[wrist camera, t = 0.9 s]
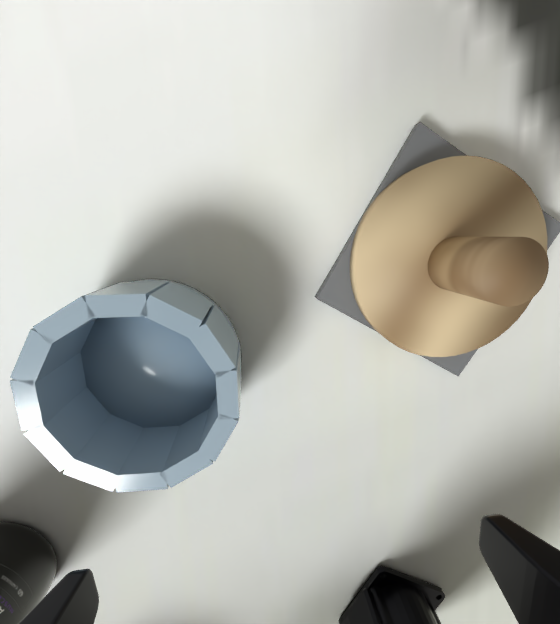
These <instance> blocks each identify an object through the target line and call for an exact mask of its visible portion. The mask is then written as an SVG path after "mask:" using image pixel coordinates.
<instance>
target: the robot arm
mask: <svg viewBox="0 0 560 624" xmlns="http://www.w3.org/2000/svg"><path fill="white" fill-rule="evenodd" d="M479 546H480V550H481V553H482V555H483V557H484V559H485V561H486V563H487V565H488V567H489V568H490V570H491V572H492V574H493V576H494V578H495V580H496V582H497V583H498V585H499V587H500V589H501V591H502V593H503V595H504V597H505V599H506V600H507V602H508V604H509V606H510V608H511V610H512V612H513V614H514V615H515V617H516V619H517V621H518V623H519V624H560V551H559V550H558V549H556V548H555V547H553V546H551V545H550V544H548V543H547V542H545V541H543V540H542V539H540V538H538V537H537V536H535V535H534V534H532V533H530V532H529V531H527V530H526V529H524V528H522V527H521V526H519V525H518V524H516V523H514V522H513V521H511V520H510V519H508V518H506V517H505V516H503V515H500V514H493V515H486V516H483V518H482V519H481V527H480V537H479ZM444 598H445V595H444V593H443V591H442V589H441V588H439V587H437V586H434V585H432V584H429V583H426V582H424V581H421V580H419V579H416V578H413V577H411V576H408V575H406V574H403V573H400V572H398V571H395V570H393V569H390V568H387V567H385V566H380V567H378V568H377V569H376V570H375V572H374V573H373V574H372V576H371V577H370V578H369V580H368V581H367V582H366V584H365V585H364V586H363V588H362V589H361V590H360V592H359V593H358V594H357V596H356V597H355V599H354V600H353V601H352V603H351V604H350V605H349V607H348V608H347V609H346V611H345V612H344V613H343V615H342V616H341V617H340V619H339V624H441V622H440V620H439V618H438V616H437V614H436V612H435V609H436V608H437V607H438V606H439V605H440V603H441V602H442V601H443V600H444ZM98 604H99V596H98V592H97V588H96V584H95V580H94V577H93V573H92V571H91V570H90V569H83V570H76V571H72V572H70V573H68V574H67V575H66V576H65V577H64V578H63V579H62V580H61V581H60V582H59V583H58V584H57V585H56V586H55V587H54V588H53V589H52V590H51V591H50V592H49V593H48V594H47V595H46V596H45V597H44V598H43V599H42V600H41V601H40V602H39V603H38V604H37V605H36V606H35V607H34V608H33V609H32V610H31V611H30V612H29V613H28V614H27V615H26V616H25V617H24V618H23V619H22V620H21V622H20V623H19V624H94V621H95V617H96V613H97V610H98Z"/></svg>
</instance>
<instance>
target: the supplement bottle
mask: <svg viewBox="0 0 560 624" xmlns="http://www.w3.org/2000/svg"><path fill="white" fill-rule="evenodd" d="M56 569H57V561H56V556H55V552H54V550H53V548H52V546H51V545H50V543H49V542H48V541H47V540H46V539H45V538H44V537H43V536H42V535H41V534H40V533H38V532H37V531H35V530H33V529H31V528H29V527H26V526H24V525H20V524H16V523H9V522H0V624H19V623H20V622H21V620H22V619H23V618H24V617H25V616H26V615H27V614H28V613H29V612H30V611H31V610H32V609H33V608H34V607H35V606H36V605H37V604H38V603H39V602H40V601H41V600H42V599H43V598H44V596H45V595H46V593H47V591H48V590H49V588H50V586H51V584H52V582H53V580H54V578H55V574H56Z"/></svg>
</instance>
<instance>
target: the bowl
mask: <svg viewBox="0 0 560 624" xmlns="http://www.w3.org/2000/svg"><path fill="white" fill-rule="evenodd" d="M33 327H34V328H33V329H31V330H30V332H29V334H28V337H27V339H26V341H25V344H24V346H23V348H22V351H21V353H20V355H19V358H18V360H17V363H16V365H15V367H14V370H13V372H12V374H11V377H10V378H13V379H12V380H11V381H10V383H11V388H12V392H13V396H14V401H15V405H16V410H17V414H18V418H19V423H20V427H21V431H26V430H27V431H26V432H25V433H24V435H25V436H26V437H27V438H28V440H29V441H30V442H31V443H32V444H33V445H34V446H35V447H36V448H37V449H38V450H39V451H40V452H41V453H42V454H43V455H44V456H45V457H46V458H47V459H48V460H49V461H50V462H51V463H52V464H53V466H54V467H55V468H56V469H57V470H58V471H59V472H60V471H62V470H64V469H65V470H64V472H63V474H64V475H67V476H70V477H73V478H75V479H78V480H81V481H84V482H86V483H89V484H92V485H95V486H97V487H100V488H103V489H105V490H108V491H111V492H113V491H114V489H115V488H116V493H118V492H132V491H145V490H159V489H168V486H170V487H173V486H175V485H177V484H178V483H180V482H182V481H184V480H185V479H187V478H189V477H190V476H192V475H194V474H196V473H197V472H199V471H201V470H203V469H204V468H206V467H208V466H209V465H211V464H213V461H216V459H217V457H218V455H219V454H220V452H221V450H222V449H223V447H224V445H225V443H226V442H227V440H228V438H229V437H230V435H231V433H232V431H233V430H234V428H235V426H236V424H237V423H238V419H239V413H240V399H241V384H242V378H241V349H240V343H239V339H238V336H237V334H236V331H235V329H234V327H233V325H232V323H231V321H230V320H229V318H228V317H227V315H226V314H225V313H224V312H223V310H222V309H221V308H220V307H219V306H218V305H217V304H216V303H215V302H214V301H213V300H211V299H210V298H209V297H207V296H206V295H205V294H203V293H201V292H200V291H198V290H196V289H194V288H192V287H190V286H187V285H185V284H181V283H178V282H175V281H169V280H163V279H145V280H137V281H133V282H120V283H117V284H114V285H112V286H109V287H106V288H103V289H101V290H98V291H95V292H92V293H90V294H87V295H84V296H81V297H80V298H78V299H76V300H75V301H73V302H72V303H70V304H68V305H67V306H65V307H64V308H62V309H60V310H59V311H57V312H56V313H54V314H52V315H51V316H49V317H48V318H46V319H44V320H43V321H41V322H40V323H38V324H36V325H35V326H33Z"/></svg>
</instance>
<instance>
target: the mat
mask: <svg viewBox="0 0 560 624" xmlns="http://www.w3.org/2000/svg"><path fill="white" fill-rule="evenodd" d="M452 156H467V155H465V154H464V153H463V152H461V151H460V150H458V149H457V148H456V147H454V146H453V145H451V144H450V143H449V142H447V141H446V140H445V139H443V138H442V137H440V136H439V135H438V134H436V133H435V132H433V131H432V130H431V129H429V128H428V127H427V126H425V125H424V124H422V123H421V122H419V123H418V124H416V125H415V126H414V128H413V130H412V131H411V133H410V135H409V136H408V138H407V140H406V141H405V143H404V145H403V147H402V148H401V150H400V152H399V153H398V155H397V157H396V159H395V160H394V162H393V164H392V165H391V167H390V169H389V171H388V172H387V174H386V176H385V177H384V179H383V181H382V183H381V184H380V186H379V188H378V189H377V191H376V193H375V195H374V196H373V198H372V200H371V201H370V203H369V205H368V207H367V208H366V210H365V212H366V211H367V209H368V208H369V206H370V205H371V203H372V202H373V201H374V200H375V198H376V197H377V196H378V195H379V194H380V193H381V192H382V191H383V190H384V189H385V188H386V187H387V186H388V185H389V184H390V183H392V182H393V181H394V180H396V179H397V178H399V177H400V176H402V175H403V174H405V173H407V172H409V171H411V170H413V169H415V168H417V167H420V166H422V165H425V164H427V163H430V162H433V161H436V160H438V159H443V158H447V157H452ZM365 212H364V213H363V215H362V217H361V219H360V220H359V222H358V224H357V225H356V227H355V229H354V231H353V232H352V234H351V236H350V237H349V239H348V241H347V243H346V244H345V246H344V248H343V249H342V251H341V253H340V255H339V256H338V258H337V260H336V261H335V263H334V265H333V267H332V268H331V270H330V272H329V273H328V275H327V277H326V279H325V280H324V282H323V284H322V285H321V287H320V289H319V291H318V292H317V294H316V296H315V297H316V298H317V299H318V300H320V301H322V302H324V303H326V304H328V305H329V306H331V307H333V308H335V309H337V310H339V311H340V312H342V313H344V314H346V315H348V316H349V317H351V318H353V319H355V320H357V321H359V322H360V323H362V324H364V325H366V326H368V327H369V328H371V329H373V330H375V329H374V328H373V327H372V326H371V325H370V324H369V322H368V321H367V320H366V319H365V317H364V316H363V314H362V312H361V311H360V309H359V307H358V305H357V302H356V300H355V297H354V294H353V291H352V286H351V280H350V255H351V249H352V244H353V240H354V237H355V234H356V231H357V228H358V226H359V224H360V222H361V220H362V218H363V216H364V214H365ZM542 212H543V215H544V219H545V223H546V230H547V249H548V248H549V247H550V245H551V244H552V242H553V241H554V239H555V238H556V237H557V235H558V234H559V232H560V222H558V221H557V220H555V219H554V218H553V217H551V216H550V215H548V214H547V213H546V212H544V211H543V210H542ZM375 331H376V330H375ZM476 351H477V349H476V350H473V351H470V352H467V353H464V354H460V355H456V356H448V357H429V356H422V355H420V356H422V357H424V358H426V359H428V360H429V361H431V362H433V363H435V364H437V365H439V366H440V367H442V368H444V369H446V370H448V371H449V372H451V373H453V374H455V375H457V376H459V375H460V373H461V372H462V371H463V369H464V368H465V366H466V365H467V363H468V362H469V361H470V359H471V358H472V356H473V355H474V353H475V352H476Z"/></svg>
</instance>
